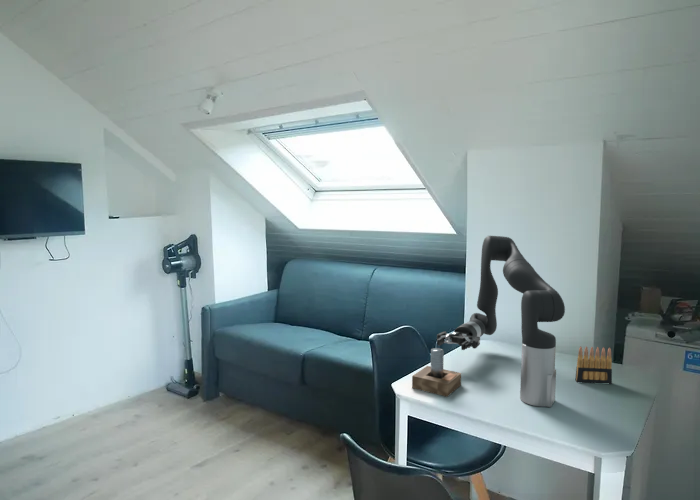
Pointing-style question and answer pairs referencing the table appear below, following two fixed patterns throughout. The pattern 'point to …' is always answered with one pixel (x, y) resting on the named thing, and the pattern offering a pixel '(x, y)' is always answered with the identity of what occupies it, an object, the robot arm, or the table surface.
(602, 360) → the ammunition clip
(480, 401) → the table surface
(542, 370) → the robot arm
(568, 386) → the table surface
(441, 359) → the barrel peg
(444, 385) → the block
